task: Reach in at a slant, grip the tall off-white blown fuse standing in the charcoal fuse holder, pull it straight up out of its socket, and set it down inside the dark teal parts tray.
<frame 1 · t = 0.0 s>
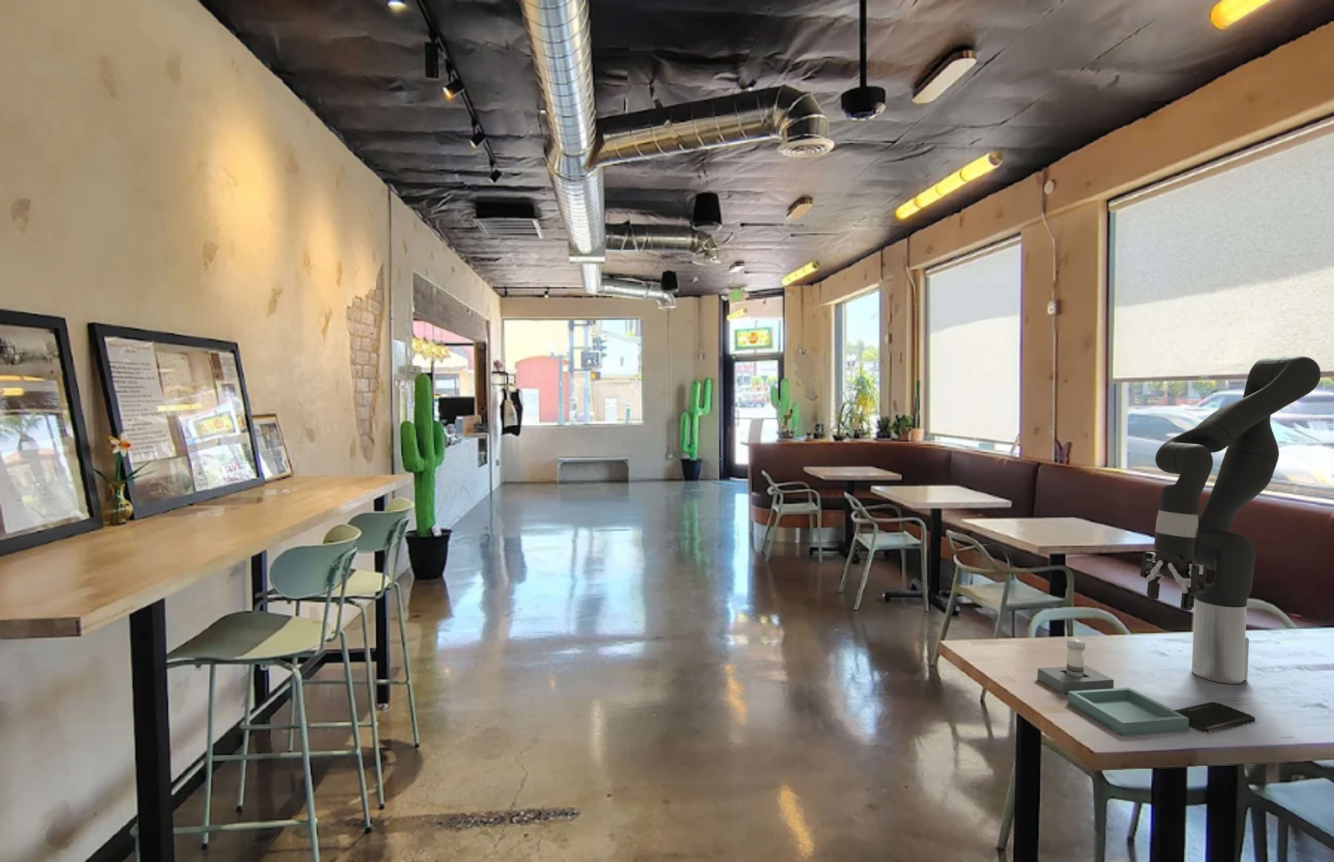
hand: (1168, 604, 153), 17 cm above the table, tool pointing down, fingers open, 8 cm apart
phone: (1210, 721, 135), on the table
fuse holder: (1074, 685, 151), on the table
parts tray: (1125, 716, 136), on the table
blown fuse: (1075, 662, 150), in the fuse holder
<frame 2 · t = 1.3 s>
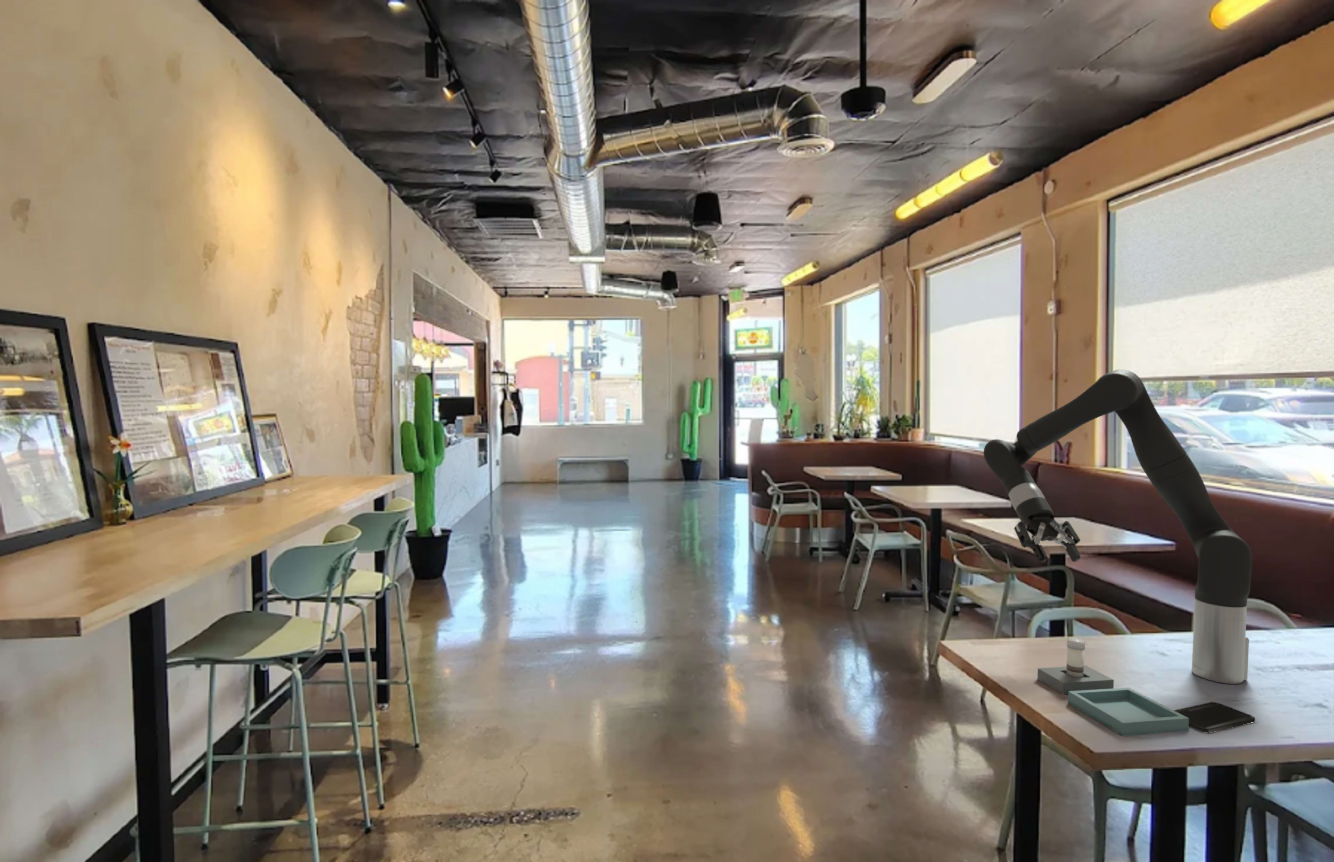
hand: (1060, 560, 163), 25 cm above the table, tool tilted 45°, fingers open, 8 cm apart
nothing on the table moved.
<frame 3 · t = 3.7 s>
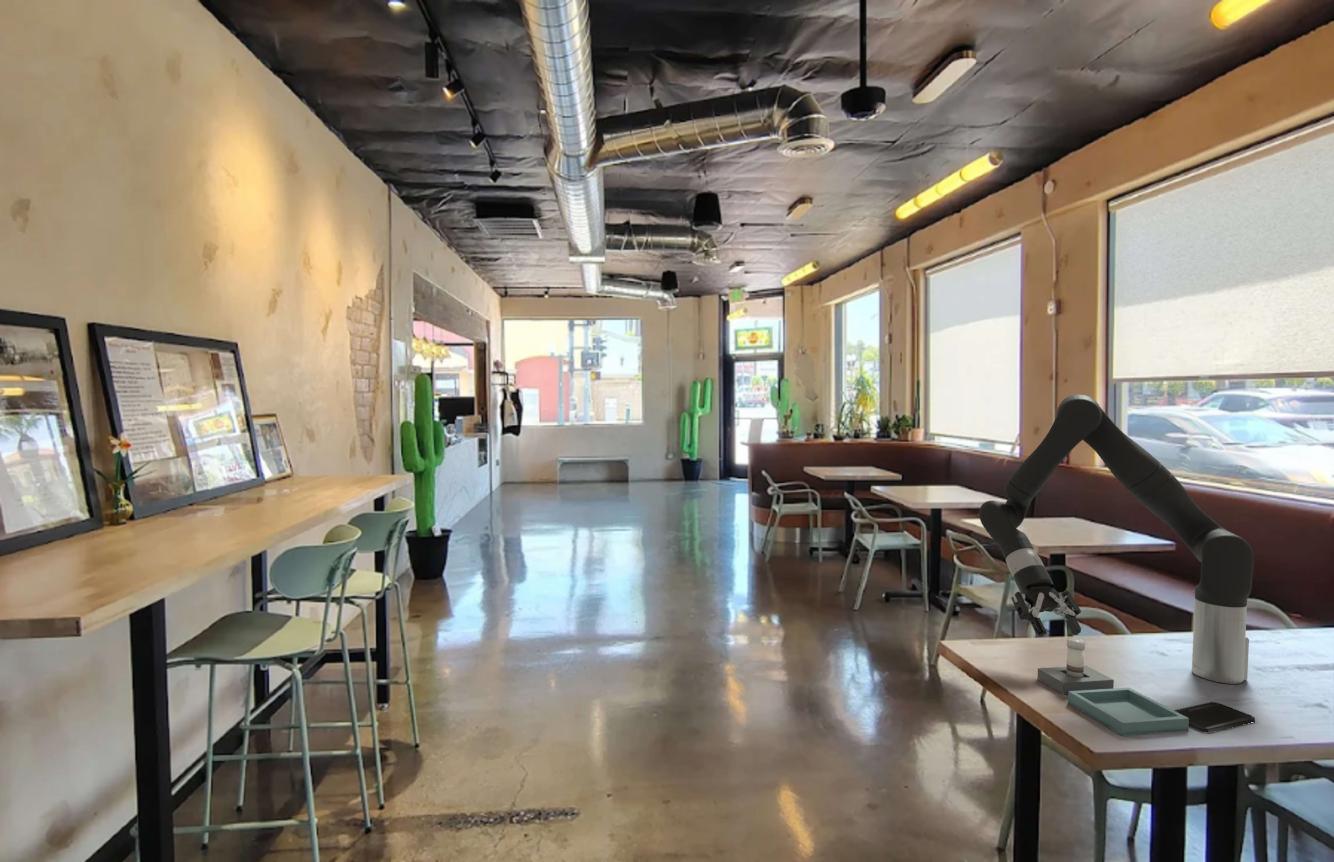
hand: (1060, 634, 155), 10 cm above the table, tool tilted 45°, fingers open, 8 cm apart
nothing on the table moved.
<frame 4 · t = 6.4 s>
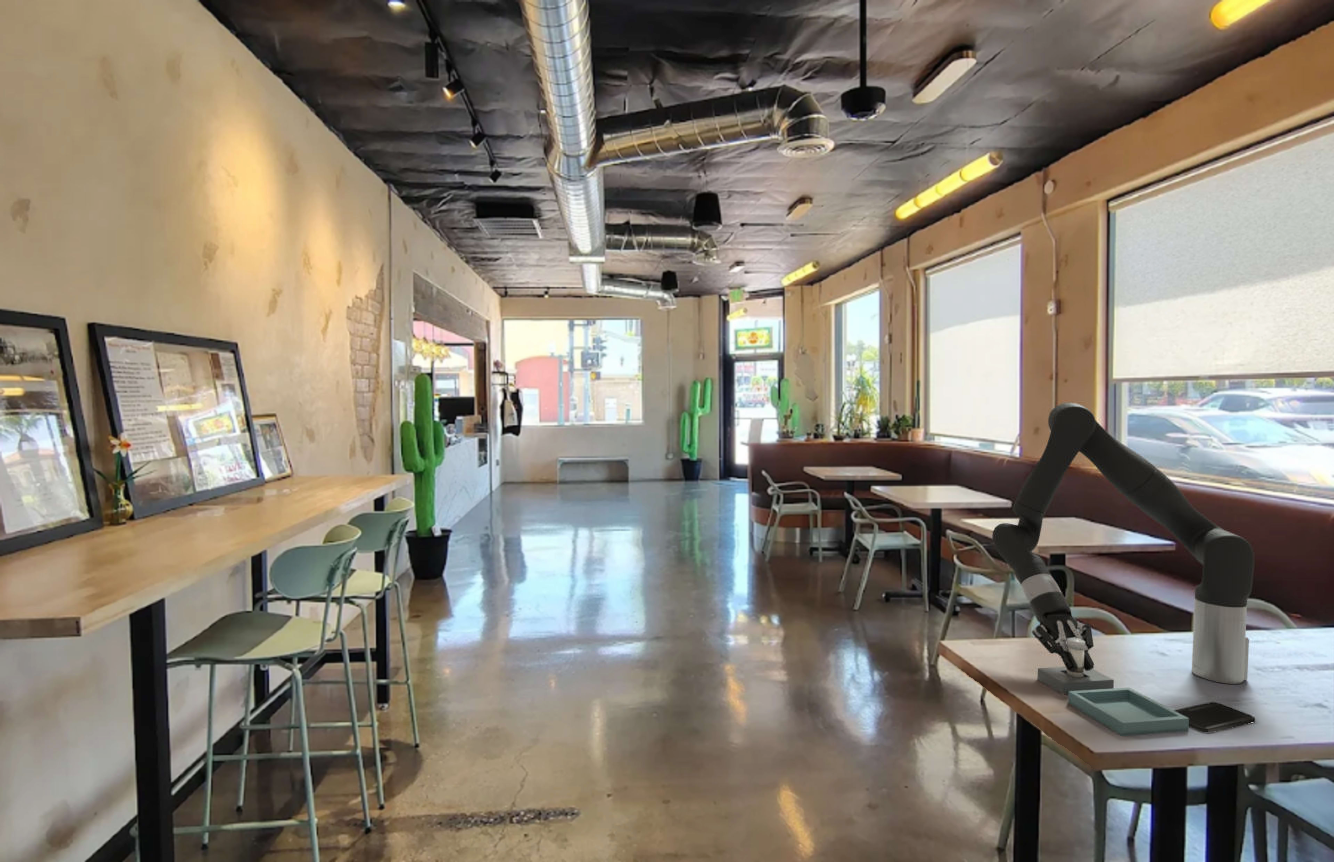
hand: (1082, 669, 148), 4 cm above the table, tool tilted 45°, fingers closed on blown fuse, 3 cm apart
blown fuse: (1075, 662, 150), in the fuse holder, touching gripper
everything else where it was.
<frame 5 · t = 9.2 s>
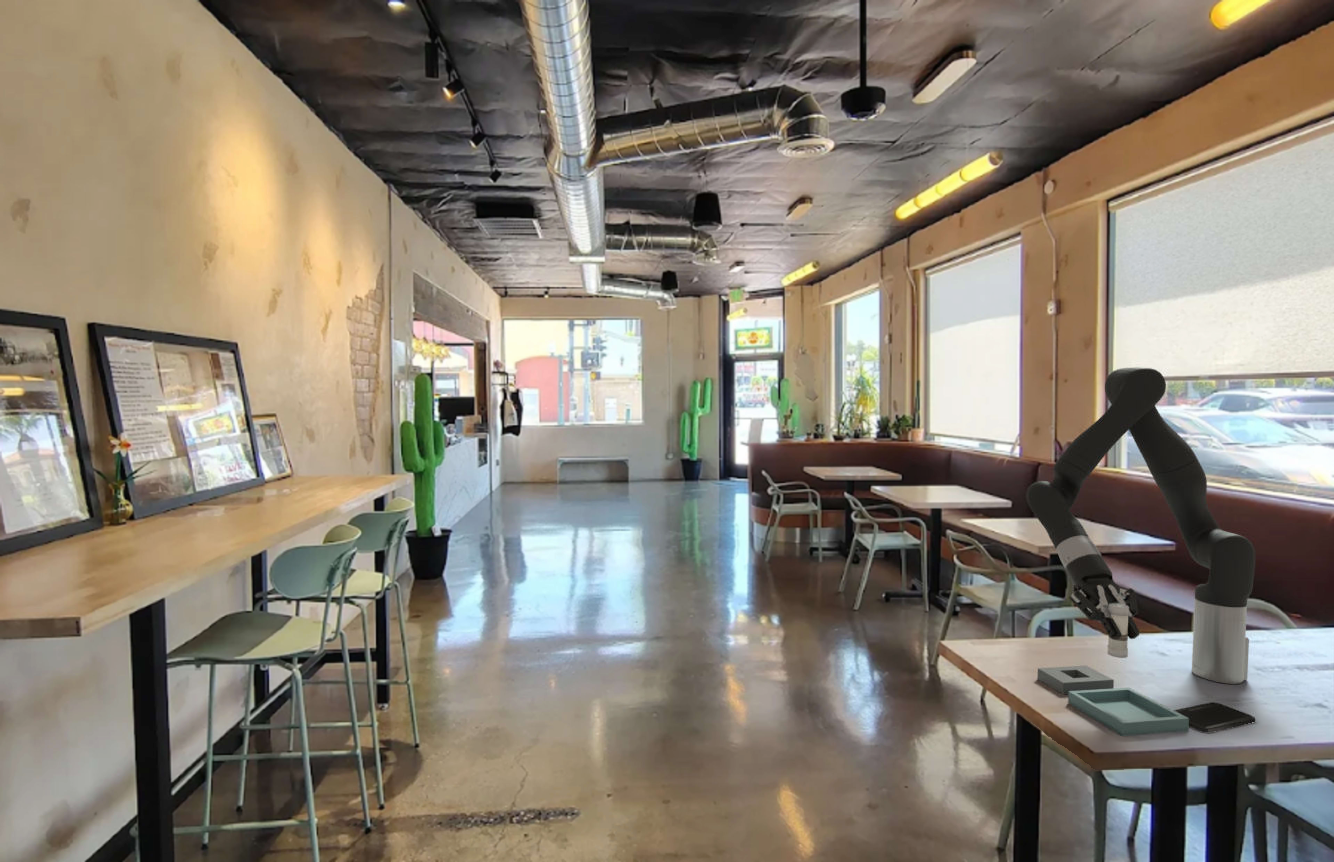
hand: (1126, 637, 135), 16 cm above the table, tool tilted 45°, fingers closed on blown fuse, 3 cm apart
blown fuse: (1118, 630, 137), point 16 cm above the table, touching gripper
everything else where it was.
when the fingers open (6 cm above the table, at t = 11.9 s): blown fuse drops 1 cm, resting on parts tray.
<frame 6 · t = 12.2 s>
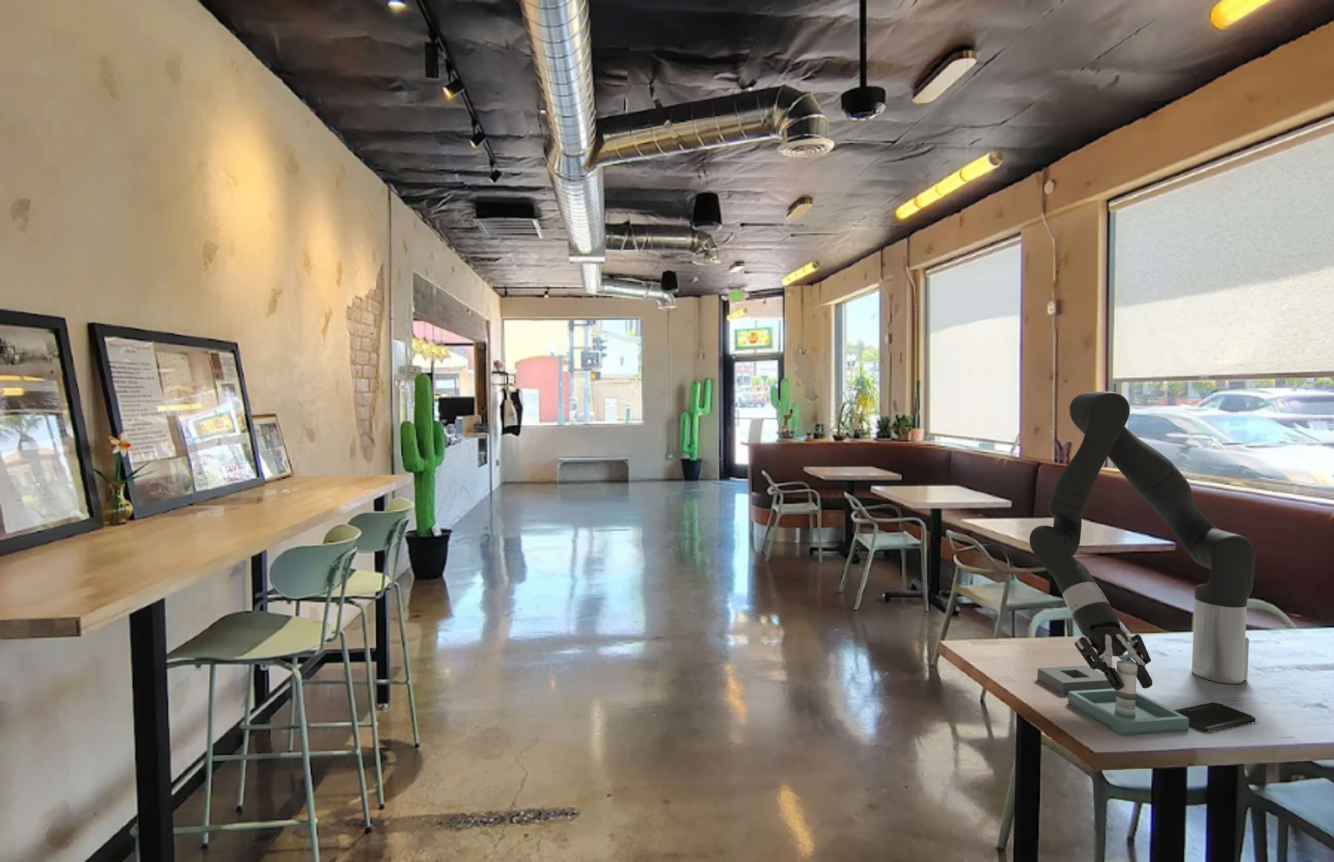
hand: (1134, 687, 134), 7 cm above the table, tool tilted 45°, fingers open, 5 cm apart
blown fuse: (1126, 688, 135), in the parts tray, point 6 cm above the table
everything else where it was.
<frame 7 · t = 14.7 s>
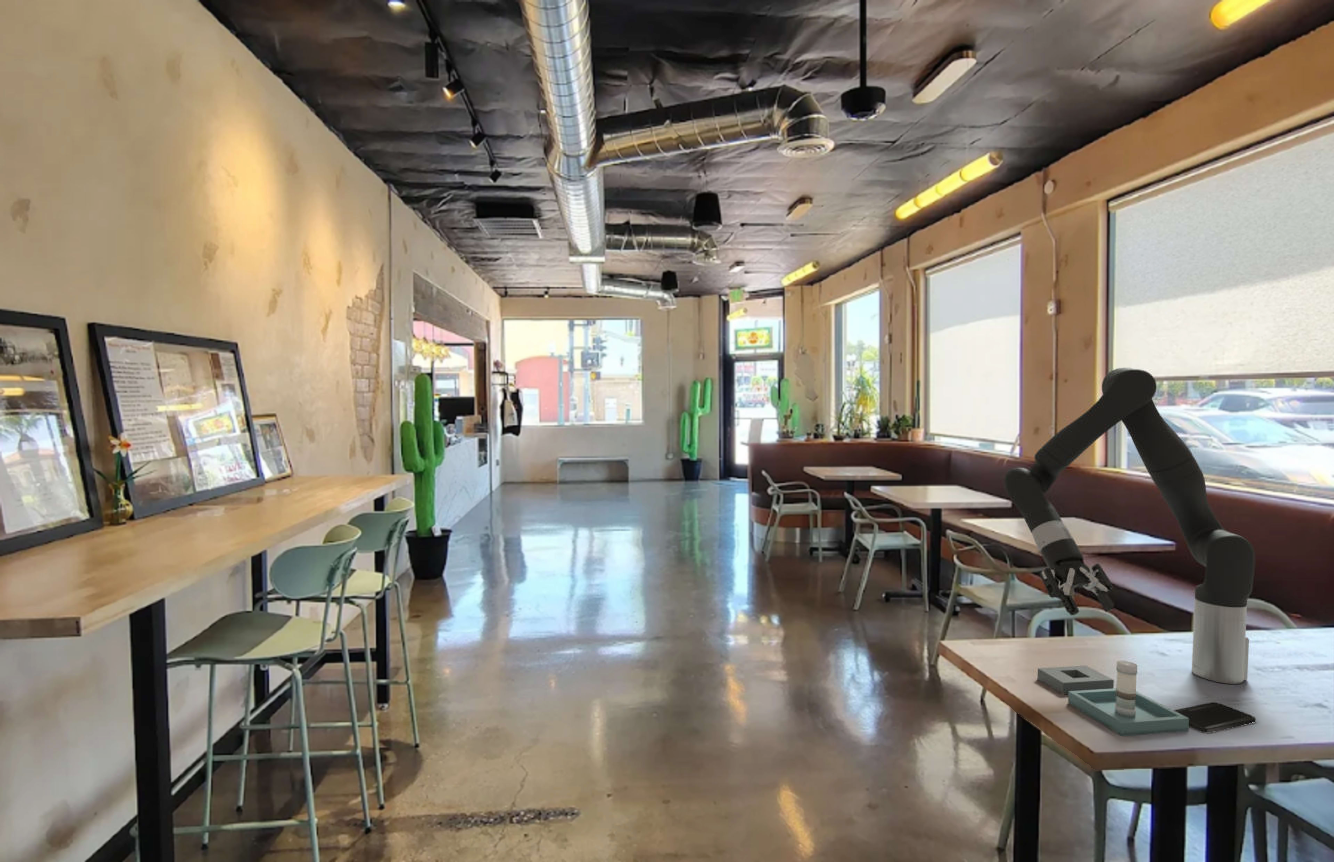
hand: (1092, 612, 147), 17 cm above the table, tool tilted 40°, fingers open, 8 cm apart
nothing on the table moved.
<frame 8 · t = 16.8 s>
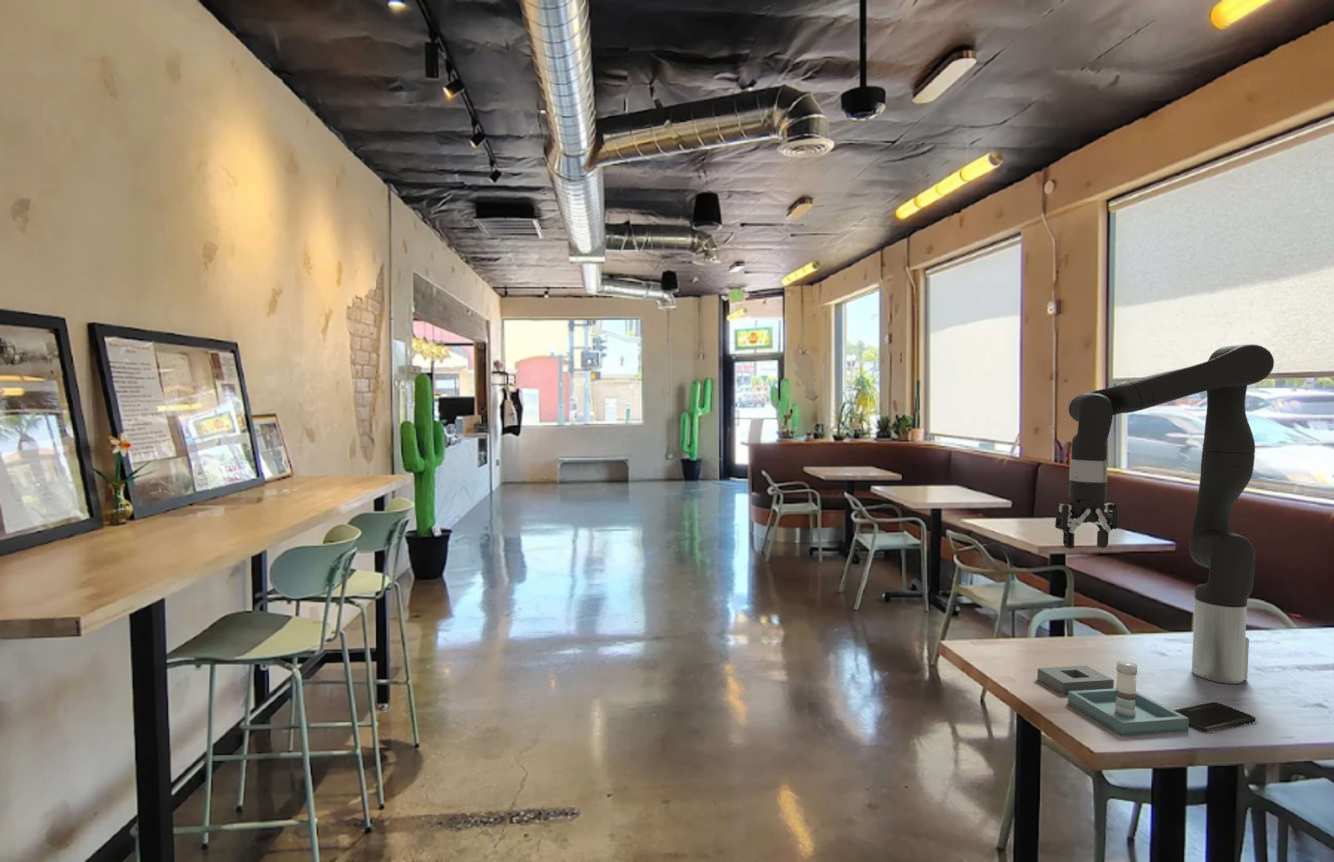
hand: (1085, 547, 161), 28 cm above the table, tool pointing down, fingers open, 8 cm apart
nothing on the table moved.
at the end: blown fuse inside the target area on the parts tray (0.1 cm from its centre), point 5.6 cm above the parts tray's base; blown fuse moved 15.0 cm from its start; the gripper is holding nothing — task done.
